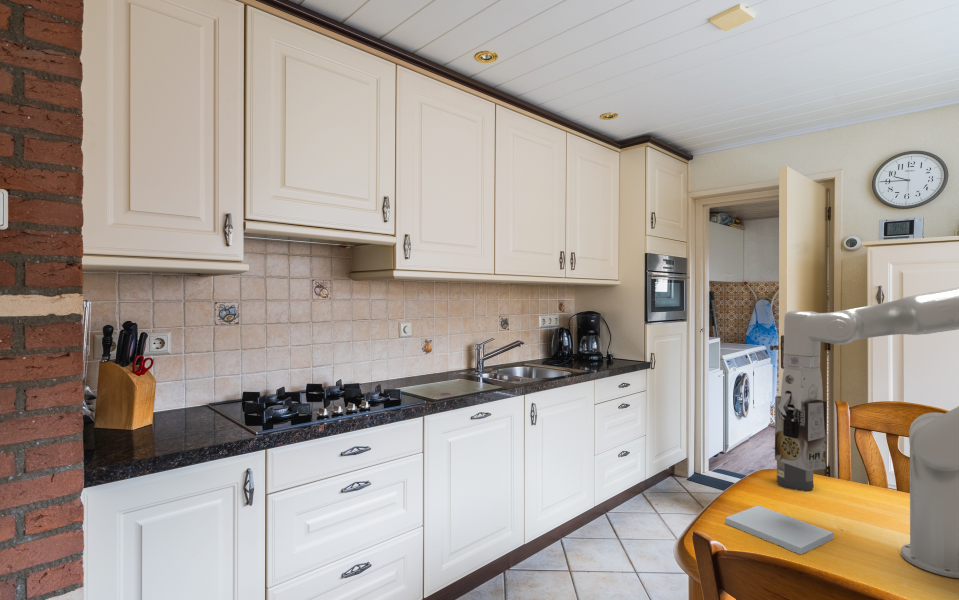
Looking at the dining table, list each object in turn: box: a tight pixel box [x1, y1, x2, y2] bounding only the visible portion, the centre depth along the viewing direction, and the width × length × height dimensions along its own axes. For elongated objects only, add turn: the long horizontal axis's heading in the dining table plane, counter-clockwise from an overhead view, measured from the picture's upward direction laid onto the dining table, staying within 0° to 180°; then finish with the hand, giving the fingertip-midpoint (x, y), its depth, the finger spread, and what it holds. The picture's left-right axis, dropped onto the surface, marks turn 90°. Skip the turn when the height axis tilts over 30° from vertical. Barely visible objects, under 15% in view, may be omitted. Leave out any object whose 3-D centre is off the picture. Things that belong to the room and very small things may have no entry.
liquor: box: [776, 460, 814, 492], centre depth 152 cm, size 9×9×30 cm
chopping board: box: [724, 505, 834, 555], centre depth 123 cm, size 18×14×2 cm
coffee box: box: [774, 395, 828, 471], centre depth 124 cm, size 9×6×16 cm
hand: (799, 434), depth 124 cm, fingers closed on coffee box, 6 cm apart
